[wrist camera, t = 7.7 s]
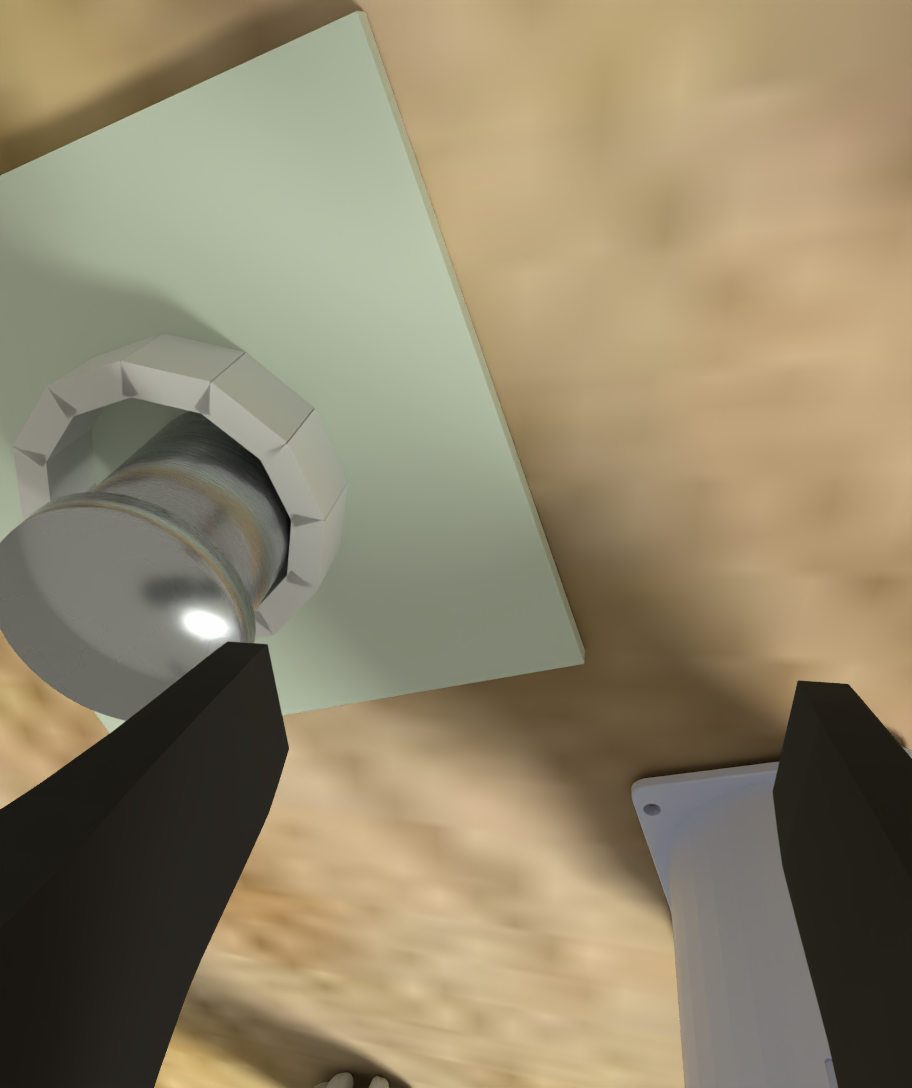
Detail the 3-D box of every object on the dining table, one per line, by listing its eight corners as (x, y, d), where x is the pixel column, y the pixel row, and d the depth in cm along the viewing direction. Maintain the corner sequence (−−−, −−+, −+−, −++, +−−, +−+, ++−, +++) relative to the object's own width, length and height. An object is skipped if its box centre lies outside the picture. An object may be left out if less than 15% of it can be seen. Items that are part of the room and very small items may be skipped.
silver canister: (266, 602, 23) (171, 760, 18) (104, 493, 22) (-46, 629, 17) (366, 480, 20) (289, 624, 15) (189, 349, 19) (42, 458, 14)
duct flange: (584, 650, 23) (582, 714, 21) (126, 731, 28) (85, 790, 25) (365, 12, 16) (326, 6, 13) (-203, 272, 20) (-299, 300, 18)
